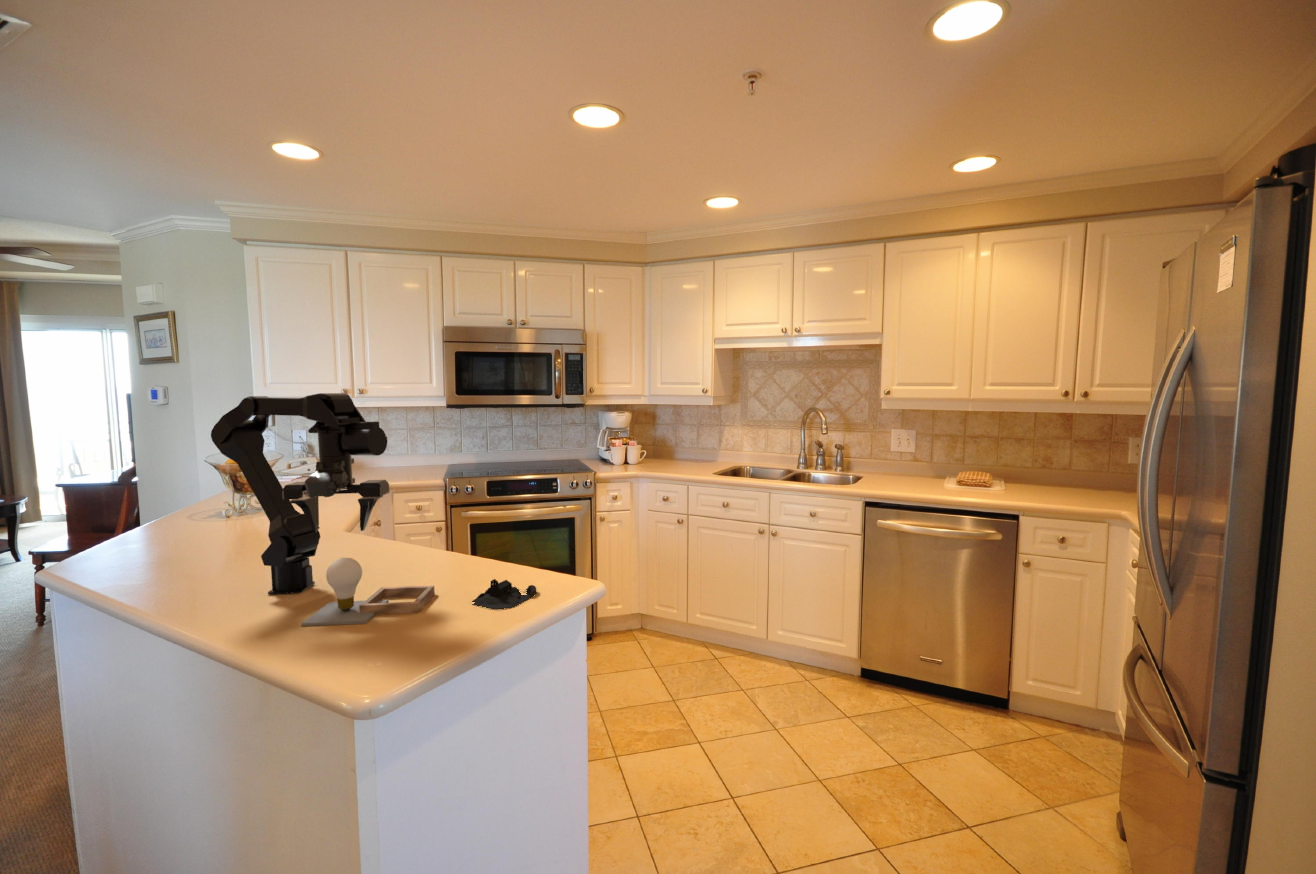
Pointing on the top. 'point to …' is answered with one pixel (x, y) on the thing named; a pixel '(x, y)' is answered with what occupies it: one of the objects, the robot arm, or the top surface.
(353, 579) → the light bulb
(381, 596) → the holder frame
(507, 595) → the black irregular lumpy piece
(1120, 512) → the top surface
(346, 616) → the coaster
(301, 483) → the robot arm
